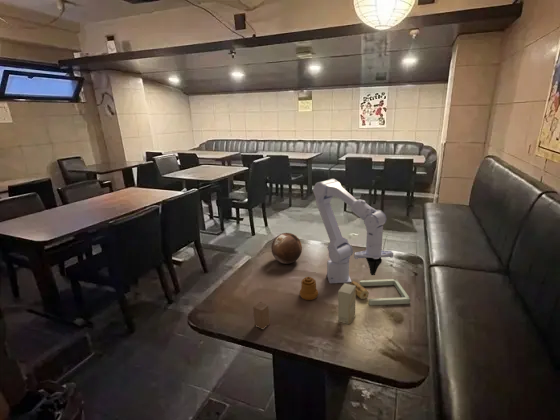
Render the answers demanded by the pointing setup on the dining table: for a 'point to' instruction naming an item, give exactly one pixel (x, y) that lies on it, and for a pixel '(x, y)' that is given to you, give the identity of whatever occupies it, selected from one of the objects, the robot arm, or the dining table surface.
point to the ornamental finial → (308, 289)
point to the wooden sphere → (286, 248)
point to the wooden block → (261, 315)
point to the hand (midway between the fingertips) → (372, 273)
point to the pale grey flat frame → (386, 301)
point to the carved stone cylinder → (360, 290)
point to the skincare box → (346, 303)
